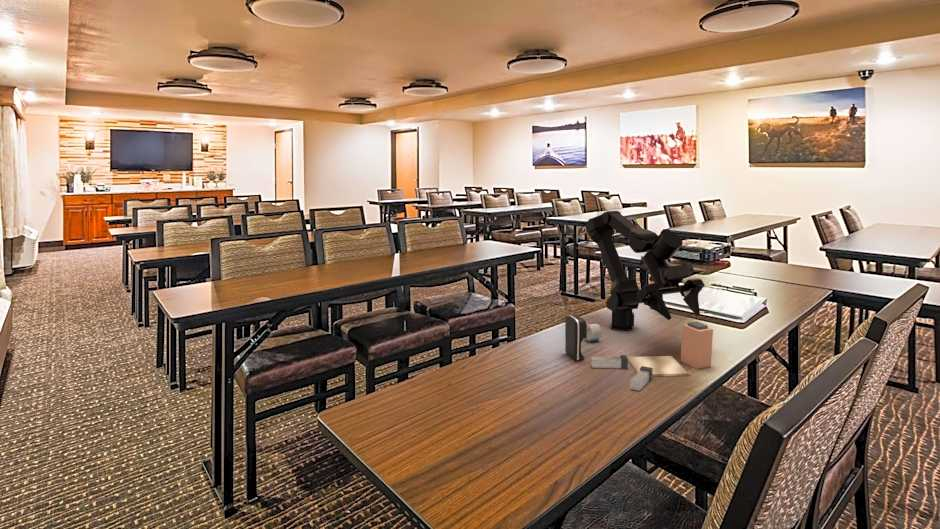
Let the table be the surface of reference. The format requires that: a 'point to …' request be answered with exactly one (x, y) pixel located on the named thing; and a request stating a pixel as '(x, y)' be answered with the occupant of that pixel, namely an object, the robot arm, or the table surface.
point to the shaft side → (610, 362)
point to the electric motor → (593, 332)
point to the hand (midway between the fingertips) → (684, 317)
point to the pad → (658, 365)
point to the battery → (575, 336)
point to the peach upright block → (696, 344)
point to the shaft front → (641, 378)
